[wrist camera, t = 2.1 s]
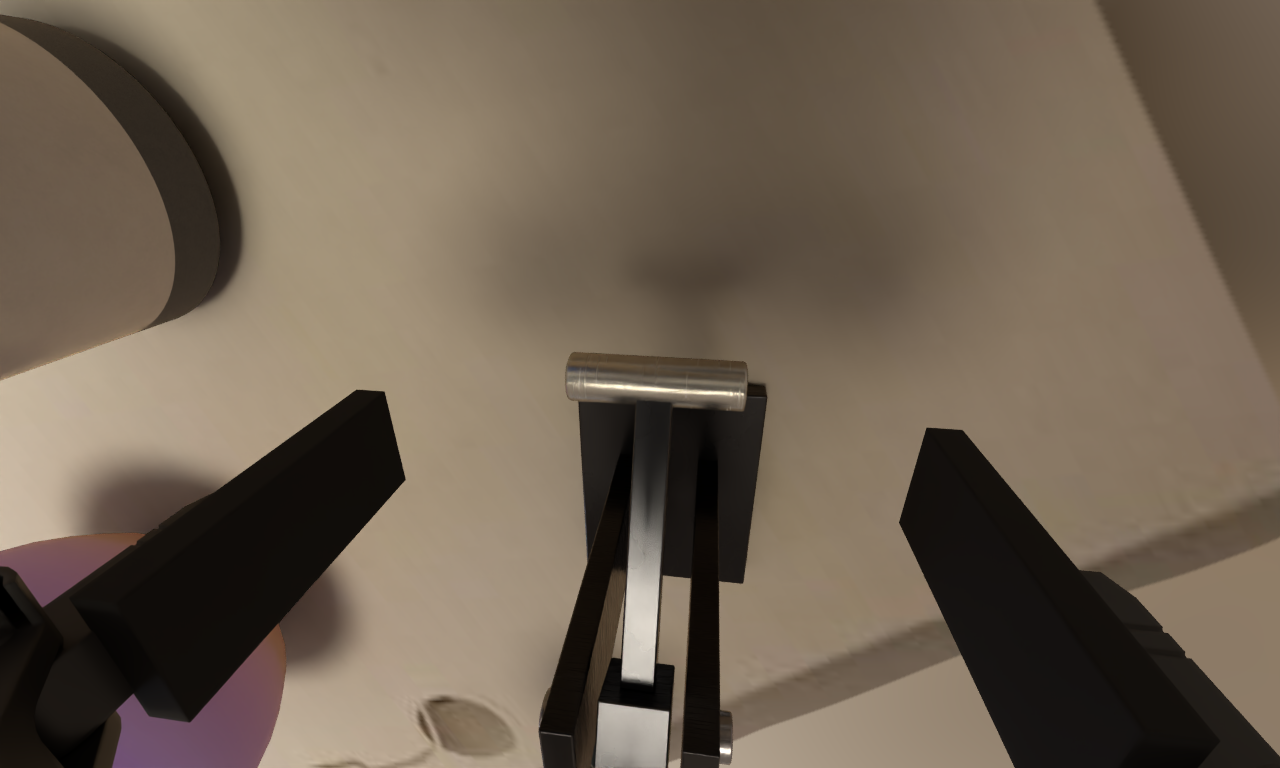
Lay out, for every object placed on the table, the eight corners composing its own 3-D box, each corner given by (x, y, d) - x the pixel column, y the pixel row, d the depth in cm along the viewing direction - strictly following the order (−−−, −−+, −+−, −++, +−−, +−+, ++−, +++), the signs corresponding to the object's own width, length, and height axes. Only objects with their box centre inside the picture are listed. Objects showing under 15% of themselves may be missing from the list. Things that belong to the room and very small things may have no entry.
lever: (580, 353, 18) (562, 350, 15) (743, 362, 17) (750, 360, 15) (559, 729, 18) (538, 783, 16) (718, 752, 17) (721, 812, 15)
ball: (74, 588, 40) (-437, 955, 22) (95, 409, 31) (-717, 779, 14) (311, 703, 43) (27, 1109, 25) (392, 570, 34) (43, 1047, 16)
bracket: (582, 374, 26) (445, 628, 13) (765, 385, 25) (821, 674, 12) (591, 553, 31) (502, 862, 18) (742, 568, 30) (763, 907, 17)
